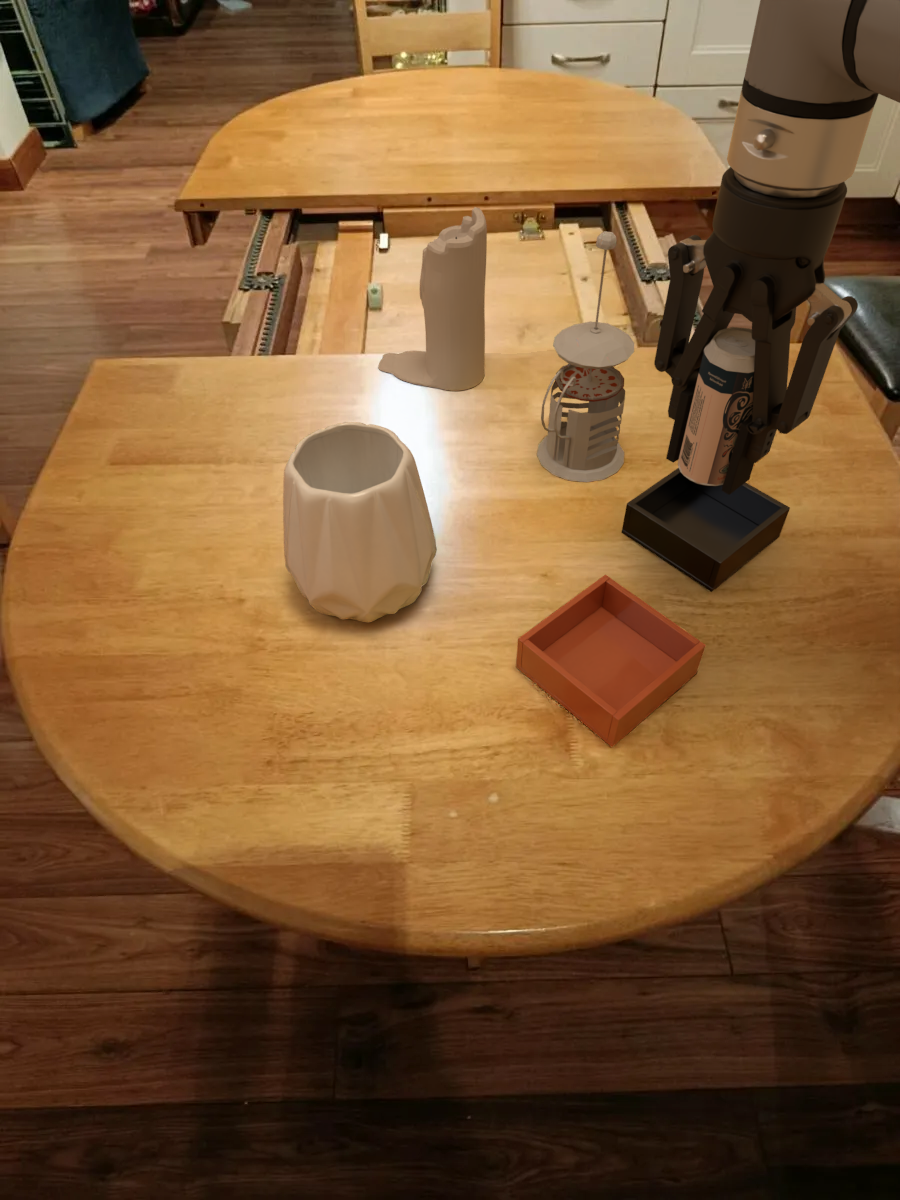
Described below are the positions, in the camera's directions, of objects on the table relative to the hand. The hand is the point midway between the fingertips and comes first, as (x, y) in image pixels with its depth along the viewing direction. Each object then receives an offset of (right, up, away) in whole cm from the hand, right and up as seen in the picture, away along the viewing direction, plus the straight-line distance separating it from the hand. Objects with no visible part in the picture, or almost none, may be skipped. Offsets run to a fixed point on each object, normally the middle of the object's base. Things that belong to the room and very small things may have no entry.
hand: (707, 468), depth 70 cm
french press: (-7, +5, +25) cm, 27 cm away
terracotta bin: (-7, -17, +5) cm, 19 cm away
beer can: (0, 0, 0) cm, 1 cm away
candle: (-24, +18, +37) cm, 47 cm away
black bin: (+4, -4, +16) cm, 17 cm away
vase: (-29, -9, +13) cm, 33 cm away
